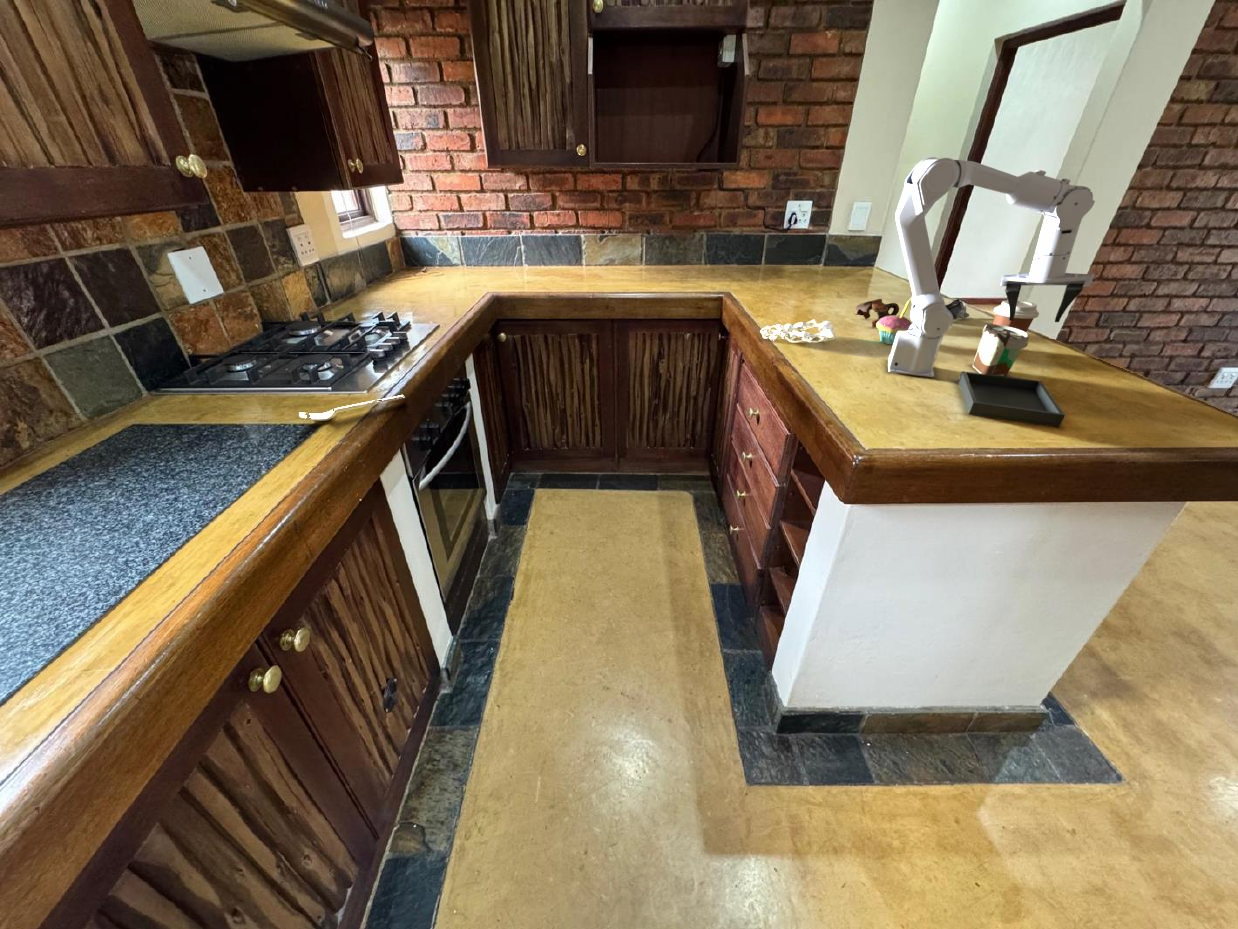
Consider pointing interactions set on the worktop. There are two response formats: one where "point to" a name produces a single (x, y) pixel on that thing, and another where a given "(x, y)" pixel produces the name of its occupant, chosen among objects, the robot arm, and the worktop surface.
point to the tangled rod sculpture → (804, 336)
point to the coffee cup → (1016, 315)
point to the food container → (999, 349)
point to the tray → (1009, 399)
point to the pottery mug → (876, 310)
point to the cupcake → (893, 326)
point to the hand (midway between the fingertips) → (1033, 320)
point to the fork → (332, 413)
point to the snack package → (957, 309)
